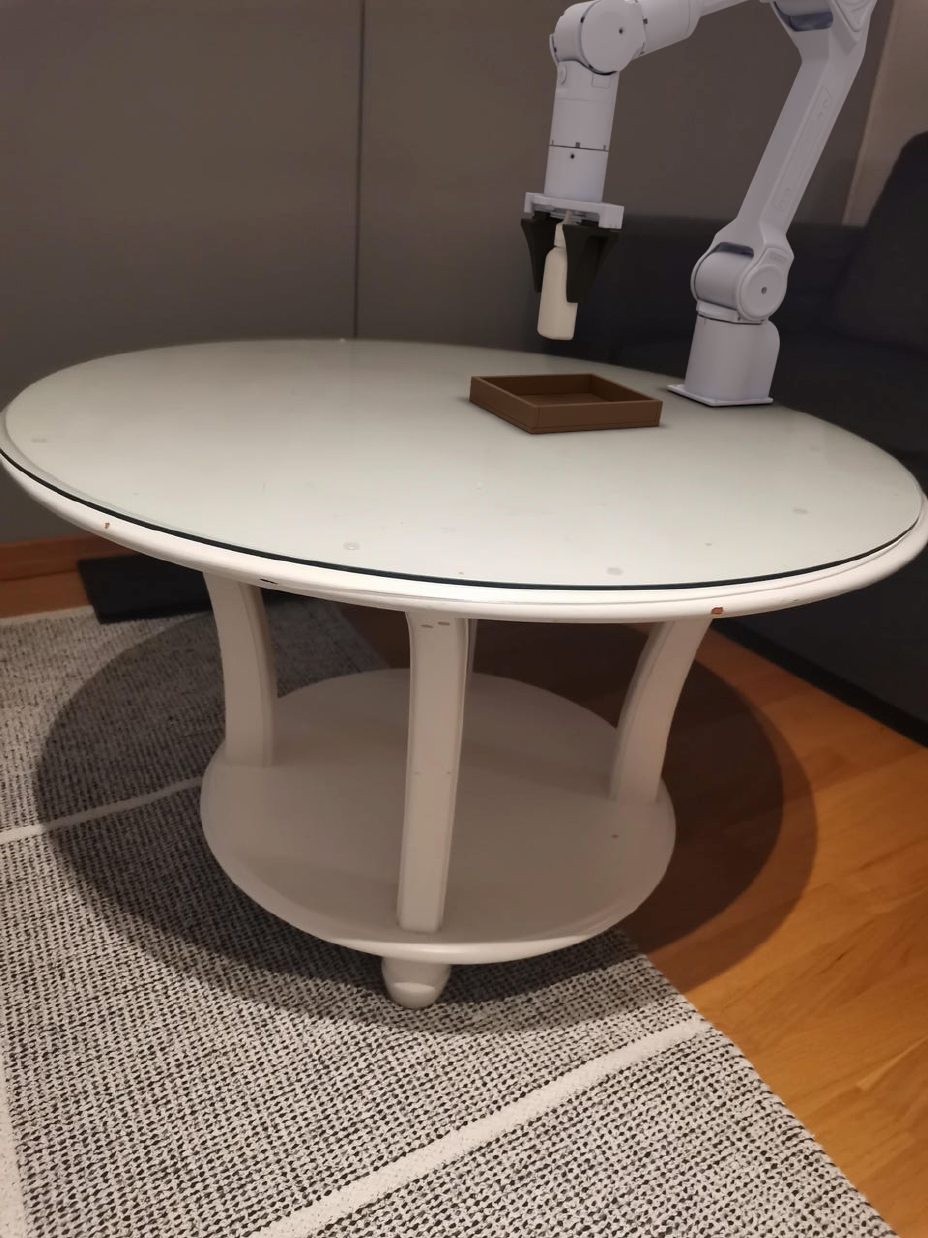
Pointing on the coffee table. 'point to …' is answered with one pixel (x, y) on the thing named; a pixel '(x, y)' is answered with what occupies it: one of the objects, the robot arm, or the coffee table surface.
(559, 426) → the tray
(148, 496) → the coffee table surface
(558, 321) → the eye dropper bottle
